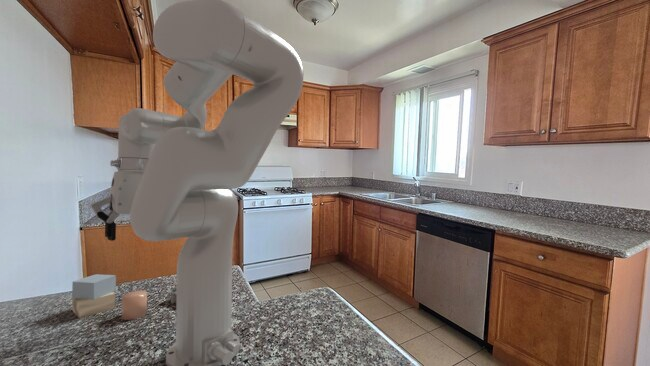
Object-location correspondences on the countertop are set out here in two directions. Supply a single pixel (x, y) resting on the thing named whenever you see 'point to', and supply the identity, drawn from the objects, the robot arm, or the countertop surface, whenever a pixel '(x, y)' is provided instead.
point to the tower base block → (93, 305)
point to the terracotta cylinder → (134, 305)
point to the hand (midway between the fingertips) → (135, 236)
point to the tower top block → (93, 286)
